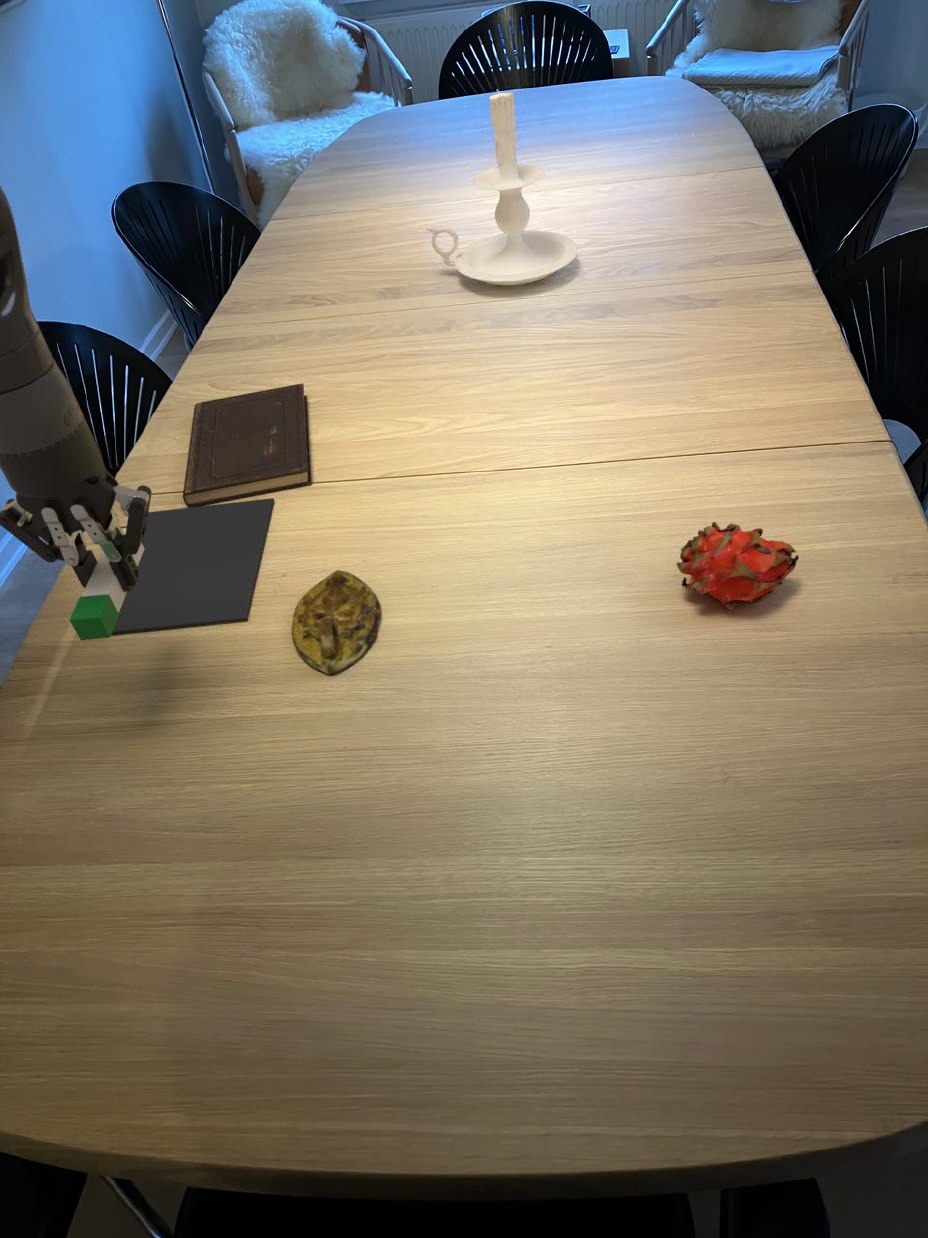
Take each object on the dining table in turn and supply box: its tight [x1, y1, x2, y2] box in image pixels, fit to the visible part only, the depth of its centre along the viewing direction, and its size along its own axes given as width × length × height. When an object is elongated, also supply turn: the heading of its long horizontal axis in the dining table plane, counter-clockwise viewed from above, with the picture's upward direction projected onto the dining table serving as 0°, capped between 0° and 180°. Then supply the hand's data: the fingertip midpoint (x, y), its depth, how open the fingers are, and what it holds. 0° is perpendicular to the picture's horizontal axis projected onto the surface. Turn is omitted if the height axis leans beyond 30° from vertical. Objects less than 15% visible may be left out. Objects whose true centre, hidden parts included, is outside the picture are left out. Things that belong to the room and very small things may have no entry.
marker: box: [69, 525, 147, 641], centre depth 84 cm, size 13×3×2 cm, turn 0°
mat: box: [111, 497, 275, 636], centre depth 108 cm, size 18×22×1 cm
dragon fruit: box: [675, 521, 800, 610], centre depth 91 cm, size 8×8×12 cm
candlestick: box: [426, 89, 579, 286], centre depth 147 cm, size 21×25×28 cm
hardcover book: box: [182, 382, 312, 508], centre depth 124 cm, size 16×23×2 cm
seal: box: [291, 569, 382, 675], centre depth 96 cm, size 9×5×15 cm
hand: (114, 586), depth 85 cm, fingers closed on marker, 2 cm apart
